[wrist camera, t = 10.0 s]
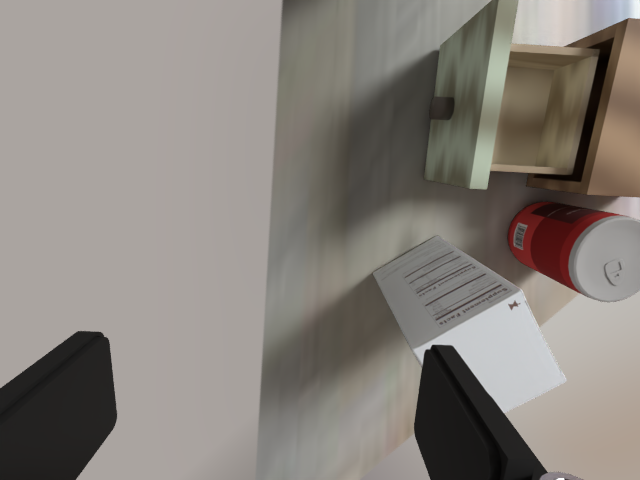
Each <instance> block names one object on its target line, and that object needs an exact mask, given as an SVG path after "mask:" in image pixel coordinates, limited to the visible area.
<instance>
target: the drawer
mask: <svg viewBox="0 0 640 480" xmlns="http://www.w3.org/2000/svg"><path fill="white" fill-rule="evenodd" d="M517 6H518V0H492V1H491V2H489V3H488V4H487V5H486V6H485V7H484V8H483V9H481V10H480V11H479V12H478V13H477V14H476V15H475V16H474V17H472V18H471V19H470V20H469V21H468V22H467V23H466V24H464V25H463V26H462V27H461V28H460V29H459V30H458V31H456V32H455V33H454V34H453V35H452V36H451V37H450V38H448V39H447V40H446V41H445V42H444V43H443V44H442V45H441V46H440V52H439V60H438V68H437V76H436V84H435V93H434V97H433V99H432V101H431V104H430V110H429V116H430V119H431V125H430V134H429V142H428V150H427V158H426V166H425V174H424V179H425V180H430V181H435V182H440V183H445V184H450V185H455V186H459V187H464V188H469V189H487V186H488V180H489V174H490V171H505V172H524V173H543V174H562V175H572V173H573V168H574V164H575V159H576V155H577V150H578V146H579V141H580V137H581V133H582V128H583V124H584V119H585V115H586V110H587V106H588V101H589V97H590V92H591V88H592V83H593V79H594V74H595V70H596V65H597V61H598V56H599V52H600V49H588V48H573V47H557V46H541V45H526V44H511V42H512V36H513V30H514V24H515V18H516V12H517Z"/></svg>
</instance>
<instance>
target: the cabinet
mask: <svg viewBox="0 0 640 480" xmlns="http://www.w3.org/2000/svg"><path fill="white" fill-rule="evenodd" d="M564 47H573V48H588V49H600V52H599V56H598V61H597V65H596V70H595V74H594V79H593V83H592V88H591V92H590V97H589V101H588V106H587V110H586V115H585V119H584V124H583V128H582V133H581V137H580V141H579V146H578V150H577V155H576V159H575V164H574V168H573V173H572V175H562V174H543V173H528V178H527V183H526V186H529V187H536V188H543V189H550V190H558V191H565V192H572V193H579V194H586V195H605V196H624V197H640V19H633V18H628V19H626V20H623V21H621V22H619V23H617V24H614V25H612V26H610V27H608V28H605V29H603V30H601V31H598V32H596V33H594V34H592V35H589V36H587V37H585V38H583V39H580V40H578V41H576V42H573V43H571V44H569V45H567V46H564Z"/></svg>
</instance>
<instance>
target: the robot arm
mask: <svg viewBox="0 0 640 480" xmlns="http://www.w3.org/2000/svg"><path fill="white" fill-rule="evenodd" d="M116 419H117V410H116V401H115V391H114V382H113V372H112V363H111V353H110V344H109V340H108V338H106V337H104V335H103V334H102V333H101V332H90V331H78V332H76V333H75V334H73V335H72V336H71V337H69V338H68V339H67V340H65V341H64V342H63V343H61V344H60V345H58V346H57V347H56V348H54V349H53V350H52V351H50V352H49V353H48V354H46V355H45V356H44V357H42V358H41V359H40V360H38V361H37V362H36V363H34V364H33V365H32V366H30V367H29V368H27V369H26V370H25V371H24V372H22V373H21V374H19V375H18V376H16V377H15V378H14V379H13V380H11V381H10V382H9V383H7V384H6V385H4V386H3V387H2V388H0V480H76V478H77V477H78V476H79V475H80V473H81V472H82V470H83V469H84V468H85V466H86V465H87V464H88V462H89V461H90V460H91V458H92V457H93V456H94V454H95V453H96V452H97V450H98V449H99V447H100V446H101V445H102V443H103V442H104V441H105V439H106V438H107V436H108V435H109V434H110V432H111V431H112V430H113V428H114V426H115V423H116ZM414 431H415V437H416V440H417V443H418V446H419V449H420V452H421V454H422V457H423V460H424V462H425V465H426V468H427V471H428V474H429V476H430V479H431V480H583V479H581V478H578V477H576V476H573V475H571V474H566V473H561V472H549V473H548V472H547V471H546V470H545V468H544V467H543V466H542V464H541V463H540V461H539V460H538V459H537V457H536V456H535V455H534V453H533V452H532V451H531V449H530V448H529V447H528V445H527V444H526V443H525V441H524V440H523V438H522V437H521V436H520V435H519V433H518V432H517V430H516V429H515V428H514V427H513V425H512V424H511V422H510V421H509V420H508V418H507V417H506V416H505V414H504V413H503V411H502V410H501V409H500V407H499V406H498V405H497V403H496V402H495V401H494V399H493V398H492V397H491V396H490V395H489V394H488V393H487V391H486V390H485V389H484V387H483V386H482V385H481V383H480V382H479V380H478V379H477V378H476V376H475V375H474V374H473V372H472V371H471V370H470V368H469V367H468V365H467V364H466V363H465V361H464V360H463V359H462V357H461V356H460V355H459V353H458V352H457V351H456V349H455V348H454V347H453V346H452V345H432V346H431V348H430V349H426V350H425V352H424V358H423V366H422V373H421V380H420V387H419V394H418V402H417V409H416V416H415V423H414Z"/></svg>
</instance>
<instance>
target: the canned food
mask: <svg viewBox="0 0 640 480" xmlns="http://www.w3.org/2000/svg"><path fill="white" fill-rule="evenodd" d="M508 242H509V246H510V249H511V251H512V252H513V254H514V255H515V257H516V258H517V259H518V260H519V261H520V262H521V263H523V264H525V265H527V266H528V267H530V268H532V269H534V270H536V271H538V272H540V273H542V274H544V275H546V276H548V277H550V278H551V279H553V280H555V281H557V282H559V283H561V284H563V285H565V286H567V287H569V288H571V289H573V290H574V291H576V292H578V293H581V294H583V295H585V296H587V297H589V298H592V299H595V300H598V301H602V302H616V301H620V300H623V299H626V298H628V297H630V296H632V295H634V294H635V293H637V292H638V291H640V220H637V219H634V218H631V217H628V216H623V215H619V214H614V213H609V212H603V211H598V210H592V209H587V208H582V207H576V206H571V205H565V204H560V203H555V202H539V203H535V204H532V205H529V206H527V207H525V208H524V209H523V210H521V211H520V212H519V213H518V214H517V215H516V216H515V218H514V219H513V221H512V222H511V225H510V227H509V232H508Z"/></svg>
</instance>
